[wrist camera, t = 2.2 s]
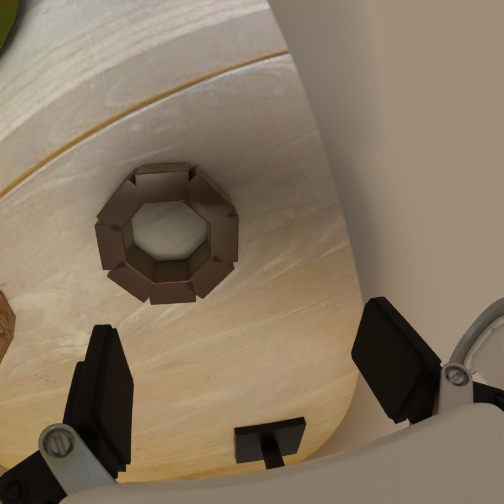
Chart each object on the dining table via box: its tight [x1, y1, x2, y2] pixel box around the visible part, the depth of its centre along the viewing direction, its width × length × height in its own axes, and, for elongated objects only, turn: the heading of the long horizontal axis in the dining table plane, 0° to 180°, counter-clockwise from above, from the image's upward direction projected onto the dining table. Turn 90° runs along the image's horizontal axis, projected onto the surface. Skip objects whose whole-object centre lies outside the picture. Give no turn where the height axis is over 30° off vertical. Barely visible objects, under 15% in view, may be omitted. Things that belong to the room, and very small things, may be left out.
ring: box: [95, 162, 238, 305], centre depth 20 cm, size 9×9×3 cm
